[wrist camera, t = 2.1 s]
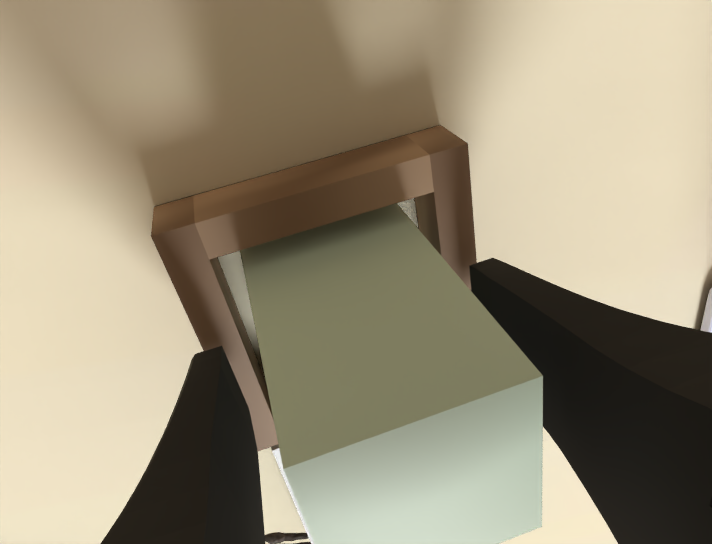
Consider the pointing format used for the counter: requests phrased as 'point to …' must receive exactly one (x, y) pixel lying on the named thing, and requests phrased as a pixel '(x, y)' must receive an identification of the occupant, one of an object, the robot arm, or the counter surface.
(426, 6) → the counter surface
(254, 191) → the socket block
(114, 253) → the counter surface
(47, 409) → the counter surface
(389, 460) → the peg
